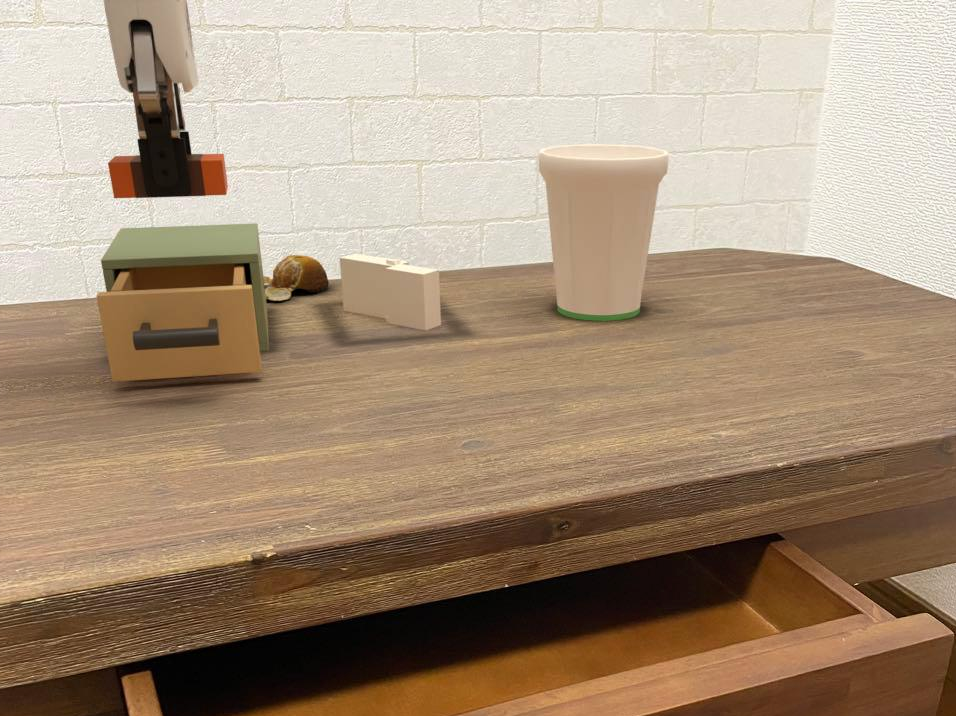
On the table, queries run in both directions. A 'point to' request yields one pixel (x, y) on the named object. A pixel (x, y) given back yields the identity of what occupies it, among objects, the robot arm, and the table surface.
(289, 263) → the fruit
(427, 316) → the napkin holder
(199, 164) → the chocolate bar
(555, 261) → the cup
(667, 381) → the table surface
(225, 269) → the drawer
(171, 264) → the cabinet
